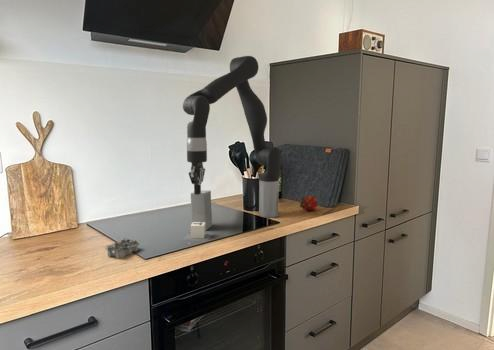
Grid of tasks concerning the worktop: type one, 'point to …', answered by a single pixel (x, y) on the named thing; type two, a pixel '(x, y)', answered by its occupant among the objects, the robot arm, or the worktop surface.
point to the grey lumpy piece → (122, 248)
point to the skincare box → (202, 208)
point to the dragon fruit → (308, 203)
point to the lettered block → (198, 230)
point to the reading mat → (207, 236)
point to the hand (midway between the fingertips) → (197, 194)
